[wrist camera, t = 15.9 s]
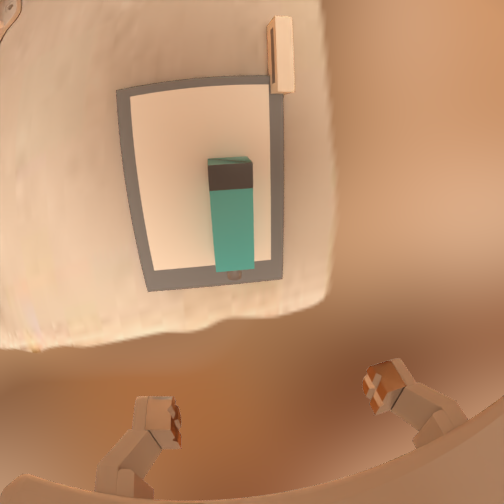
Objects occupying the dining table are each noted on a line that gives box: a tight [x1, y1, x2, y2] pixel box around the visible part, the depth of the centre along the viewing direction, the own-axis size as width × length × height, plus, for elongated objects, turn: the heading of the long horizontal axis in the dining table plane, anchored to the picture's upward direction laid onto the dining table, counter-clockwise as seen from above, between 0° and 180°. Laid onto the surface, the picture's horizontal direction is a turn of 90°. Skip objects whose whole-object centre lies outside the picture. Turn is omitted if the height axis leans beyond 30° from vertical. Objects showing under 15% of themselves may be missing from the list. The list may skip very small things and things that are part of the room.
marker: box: [208, 156, 255, 281], centre depth 30 cm, size 13×4×4 cm, turn 1°
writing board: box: [116, 75, 284, 292], centre depth 30 cm, size 24×17×1 cm
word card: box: [267, 16, 295, 94], centre depth 23 cm, size 8×2×4 cm, turn 2°
